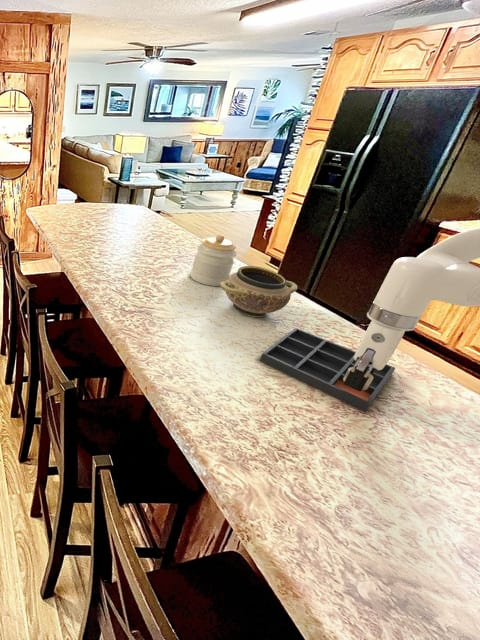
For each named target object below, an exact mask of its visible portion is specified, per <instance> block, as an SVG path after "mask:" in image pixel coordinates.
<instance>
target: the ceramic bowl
mask: <svg viewBox="0 0 480 640" xmlns="http://www.w3.org/2000/svg"><path fill="white" fill-rule="evenodd" d="M288 286H289V287H288ZM219 288H221V289H222V291H224V292H225V294H226V297H227V298H228V299H229V301H230V302H231V303H232V307H233V309H234V311H236V312H238V313H239V314H242V315H245V316H248V317H253V318H264V317H265V316H266V315H267V314H271V313H275V312H277V311H281V310H282V309H283V308H285V307H286V306H287V305H288V304H289V302H290V300H291V298H292V295H291V294H293V293H295V292H296V291H298V285H297V284H296V283H295V282H293V281H289V280H287V279H286V278H285V277H284V276H283V275H282V274H280V273H278V272H276V271H275V270H271V269H268V268H266V267H261V266H254V265H243V266H241V267H239V268H238V270H237V271H236V272H234V273H230V275H229V277H228V278H227V279H226V281H222V282H221V283H220V286H219Z"/></svg>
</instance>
